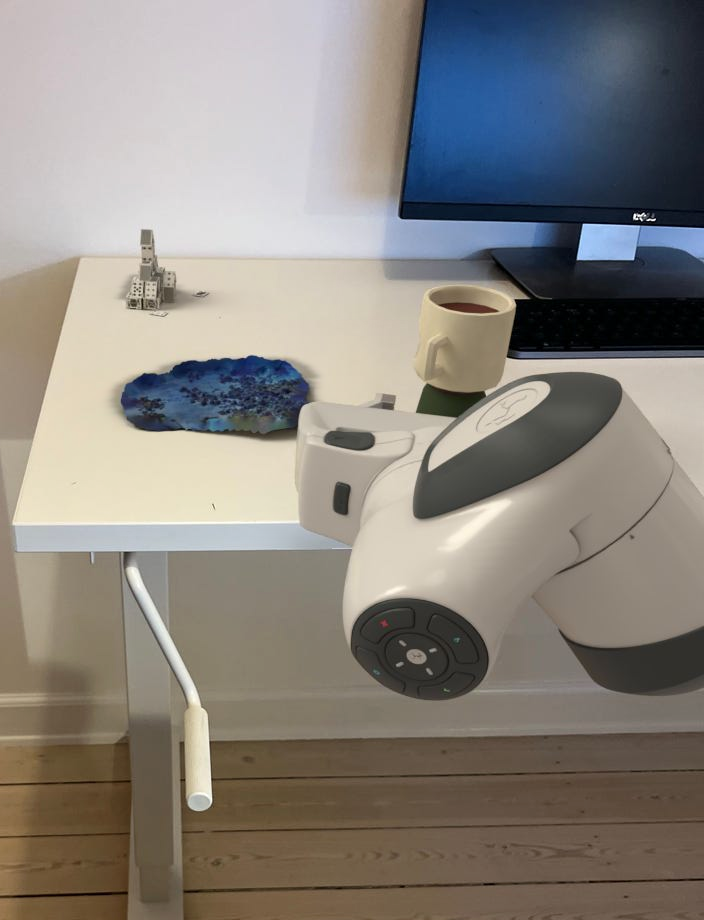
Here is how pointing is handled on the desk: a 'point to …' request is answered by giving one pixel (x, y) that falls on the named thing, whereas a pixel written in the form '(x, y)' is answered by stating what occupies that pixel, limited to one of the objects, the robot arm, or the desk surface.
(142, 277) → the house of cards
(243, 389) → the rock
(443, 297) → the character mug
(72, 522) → the desk surface
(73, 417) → the desk surface
